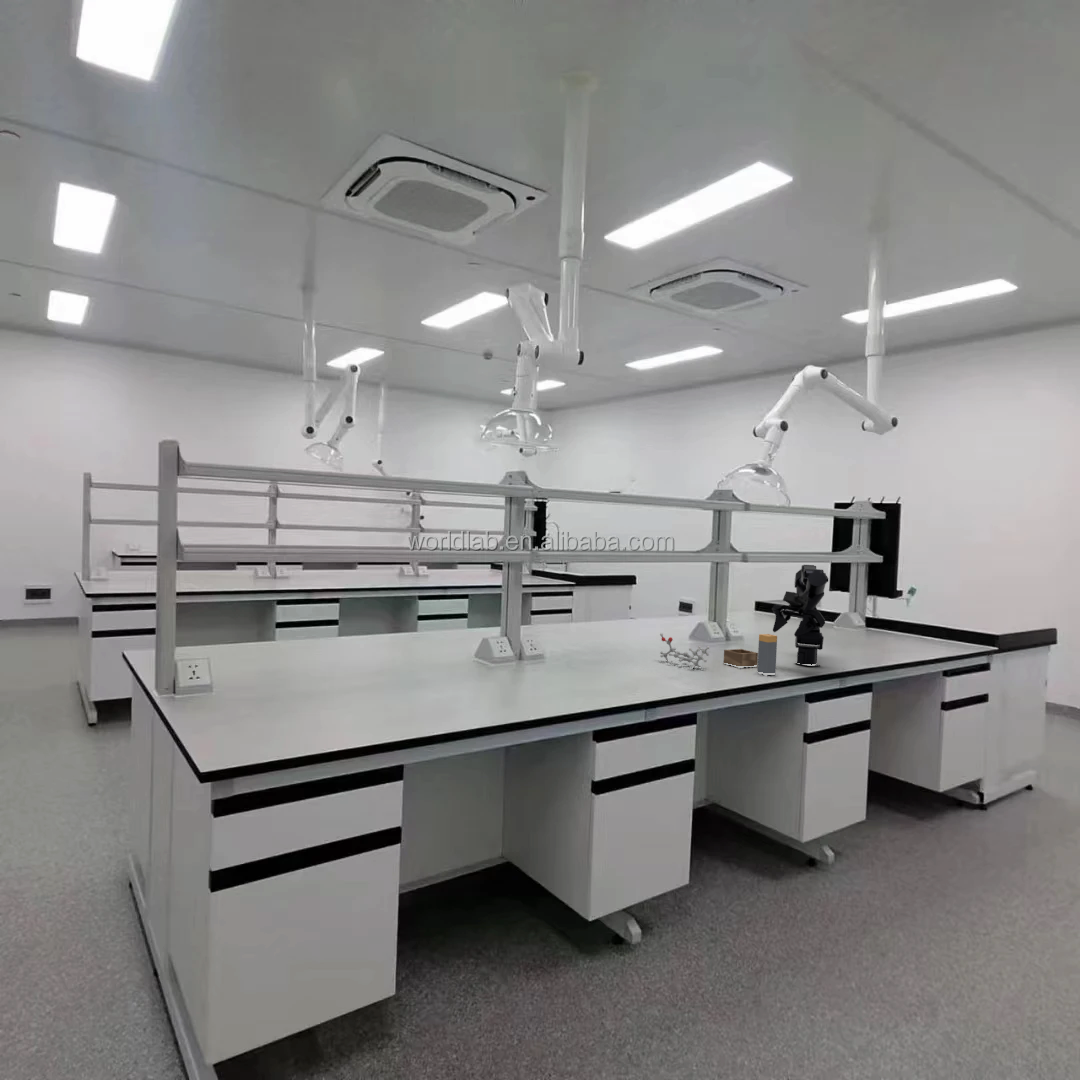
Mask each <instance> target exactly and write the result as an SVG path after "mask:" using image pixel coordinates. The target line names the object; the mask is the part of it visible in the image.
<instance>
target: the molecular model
mask: <svg viewBox="0 0 1080 1080" xmlns="http://www.w3.org/2000/svg"><path fill="white" fill-rule="evenodd" d="M659 635H660V637H661V641H662V642H666V644H667V645H668V646H669V651H667V652H663V651H660V653H659V654H660V656H659V657H660V658H665V661H666V660H667V661H668V660H669V659H668V656H669V657H671V656H672V657H674V658H676V659H677V658H678V662H679V663H682V662H684V661H685V662H688V663H693V665H692V667H693V668H694V667H695V668H696V667H698V668H699V667H701V668H702V665H700V664H699V662H700V661H701V660H702V661H703V662H704V663H707V659H706V658H703V657H704V654H705V655H706V656H708V657H709V656H710V654H709V652H707V651H708V650H710V646H709V645H707V646H706V648H704V649H703V648H702V646H700V645H699V646H698V647H697V649H696V650H693V648H692V647H689V648H688V651H690V652H691V653H692V655H691V654H689V652H688V651H685V652H684V653H683V652H680V651H679V650H676V649H677V648H676V647H672V645H671V643H672V641H674V640H673V637H671V636H670V637H668V639H666V637H664V633H662V632H660V634H659ZM700 650H701V654H700V655H699V654H698V652H700ZM695 656H696V657H695ZM694 660H696V661H694ZM668 662H669V661H668Z"/></svg>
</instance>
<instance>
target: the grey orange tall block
mask: <svg viewBox="0 0 1080 1080" xmlns="http://www.w3.org/2000/svg"><path fill="white" fill-rule="evenodd" d="M777 646H778V635H774V634H770V633H759V634H758V649H757V650H758V651H757V653H758V663H757V667H756V669H757V671H758V672H763V673H775V674H776V670H777V669H776V668H777V666H776V665H777V649H778V648H777ZM757 671H756V672H757Z"/></svg>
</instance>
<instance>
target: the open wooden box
mask: <svg viewBox="0 0 1080 1080" xmlns="http://www.w3.org/2000/svg"><path fill="white" fill-rule="evenodd" d="M724 663H728V664H732V665H736V666H754V665H757V666H758V652H756V651H752V650H746V649H743V648H734V649H732V648H731V649H724V650H723V664H724Z"/></svg>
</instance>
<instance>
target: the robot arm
mask: <svg viewBox="0 0 1080 1080" xmlns="http://www.w3.org/2000/svg"><path fill="white" fill-rule="evenodd" d="M794 577H795V578H794V588H796V591H795V592H794V591H785V593H784V596H783V598H782V601H783V602H786V603H787V604H788V607H789V609H788V607H786V605H785V604H784V605H783V604H779V603H778V604H777V603H776V604H773V606H772V607H771V610H772V612H773V614H774V615H775V619H774V623H773V628H772V631H773V633H777V632H778V631H780V629H782V628H783V627H784V626H785V625H786V624H788V621H790V620H791V617H792V618H797V619H800V621H799V624H798V628H797V629H796V630H795V632H794V637H795V639H794V640H795V641H794V646H795V648H796V649H797V656H796V657H797V658H796V662H797V663H800V664H811V665H812V664H816V663H817V662H818V650H819V651H821V650H823V648H824V647H823V645H824V635H823V633H822V632H821V629H820V628H823V627H824V626H825V624H826V619H825V618H824V616H823V615H822V614H821V612H820V611H819V610H818V607H817V605H818V604H819V603H820V602H821V600H822V599H823V598H824V596H825V588H826V584H827V583H829V577H828V576H827V574H826V572H825V571H824V569H821V568H820V569H817V566H816V565H814V564H803V565H801V568H800V569H799V570H798V571H797V572H796V573H795V576H794ZM817 664H818V663H817Z"/></svg>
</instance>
